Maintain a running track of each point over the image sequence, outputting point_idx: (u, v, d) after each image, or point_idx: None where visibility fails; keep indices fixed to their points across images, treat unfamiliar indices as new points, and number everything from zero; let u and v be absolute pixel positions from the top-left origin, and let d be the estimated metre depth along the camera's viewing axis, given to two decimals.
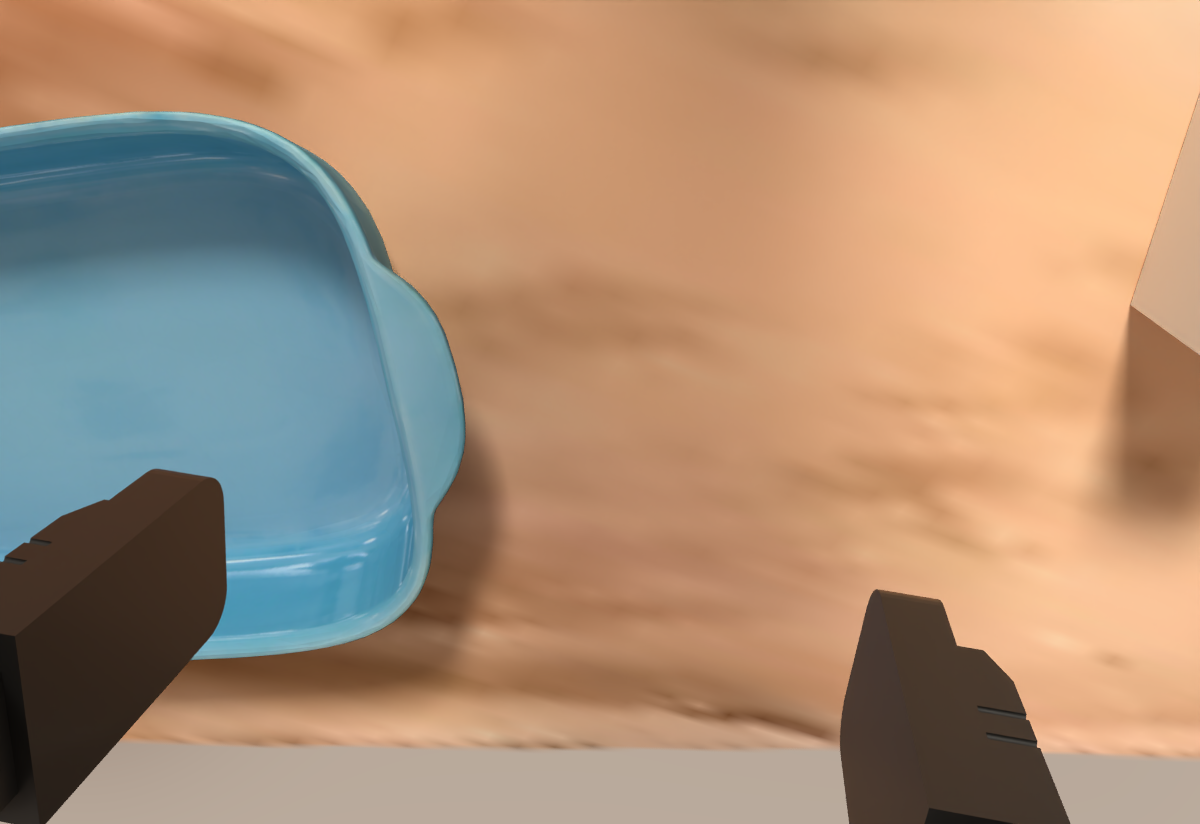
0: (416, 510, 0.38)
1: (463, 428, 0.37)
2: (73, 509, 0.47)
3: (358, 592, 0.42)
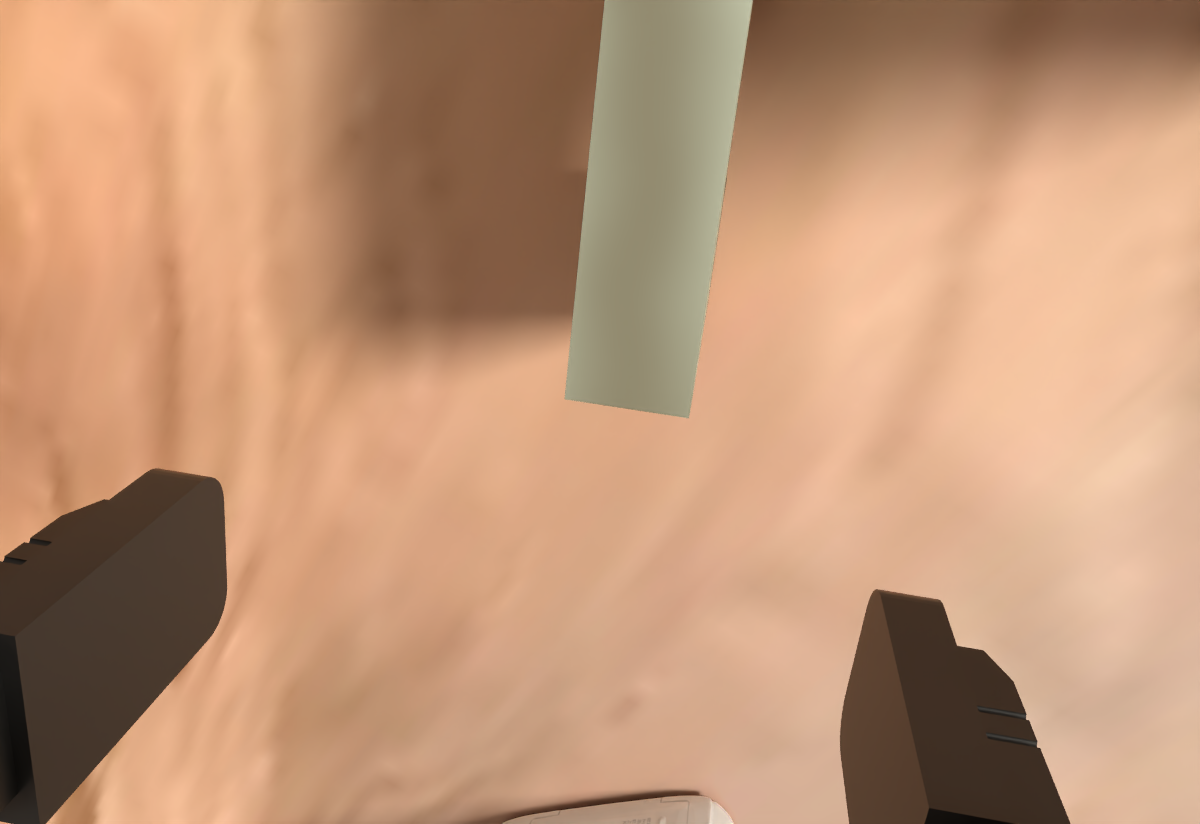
0: None
1: None
2: None
3: None
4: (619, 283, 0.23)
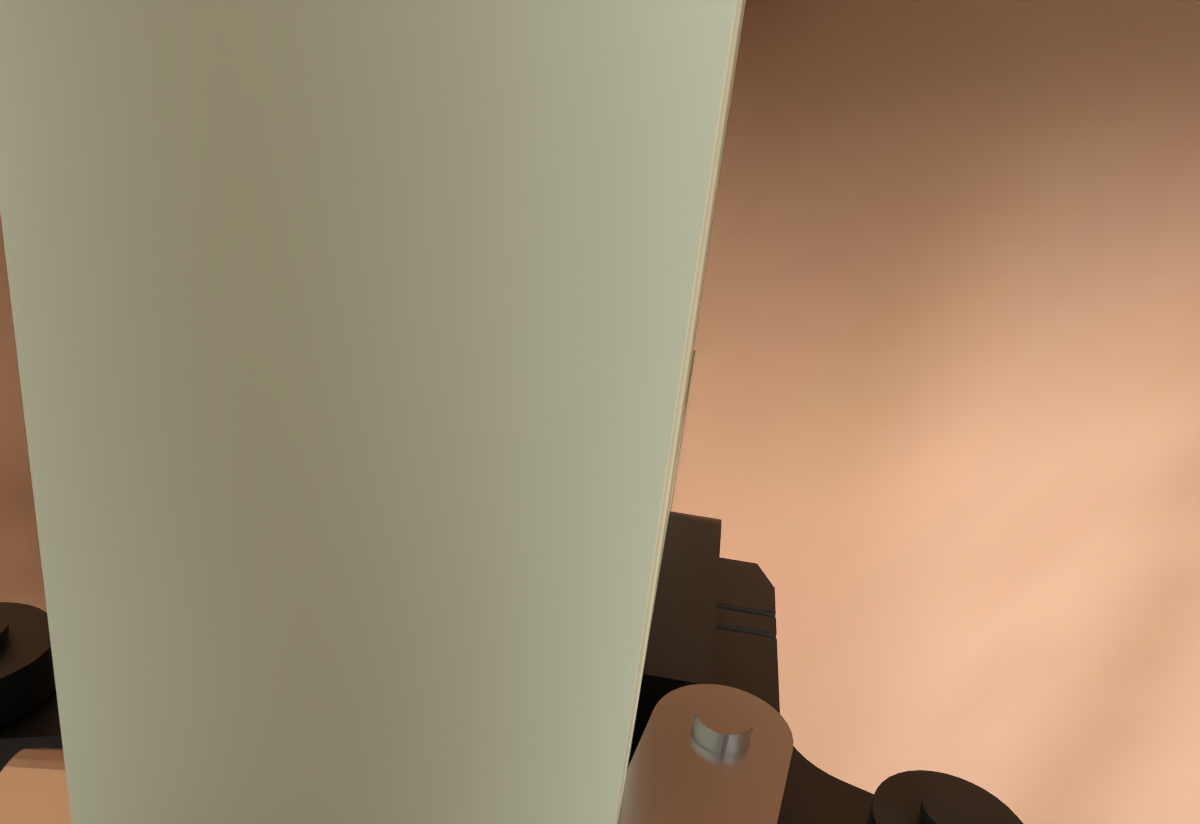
0: None
1: None
2: None
3: None
4: None
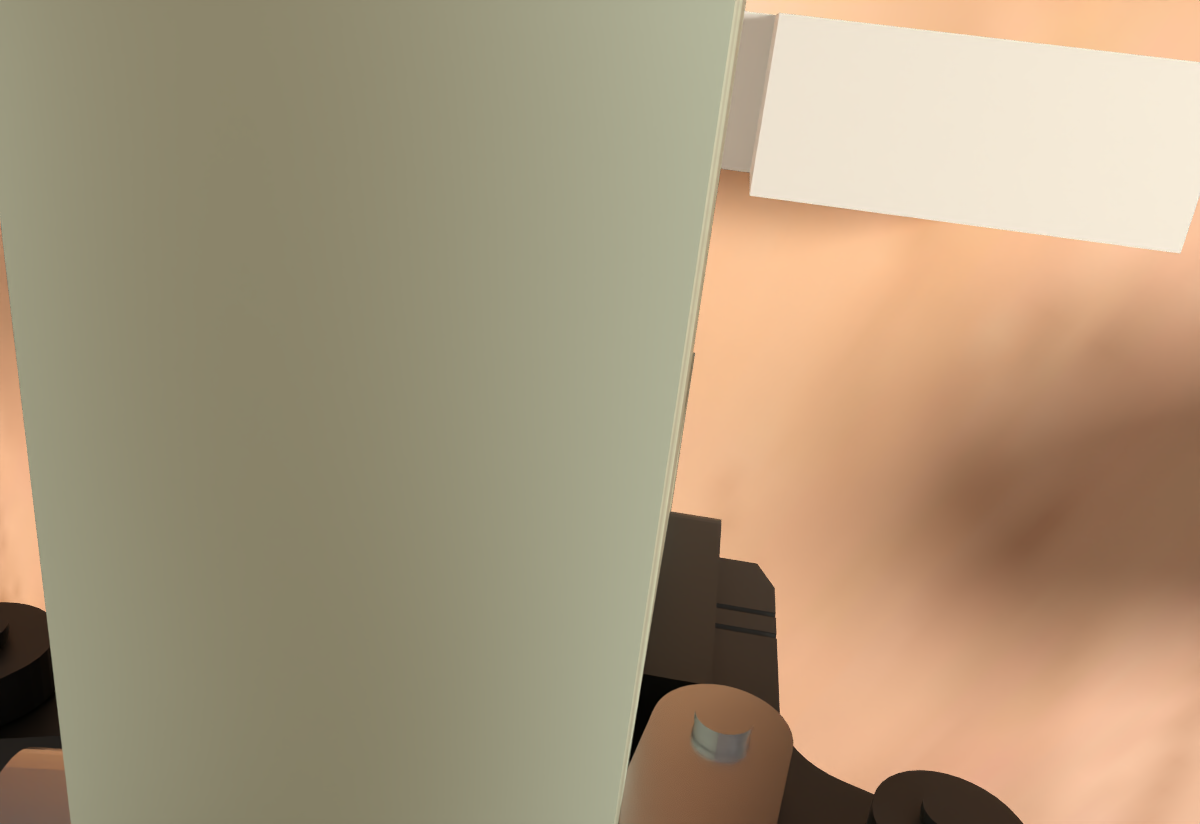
0: None
1: None
2: None
3: None
4: None
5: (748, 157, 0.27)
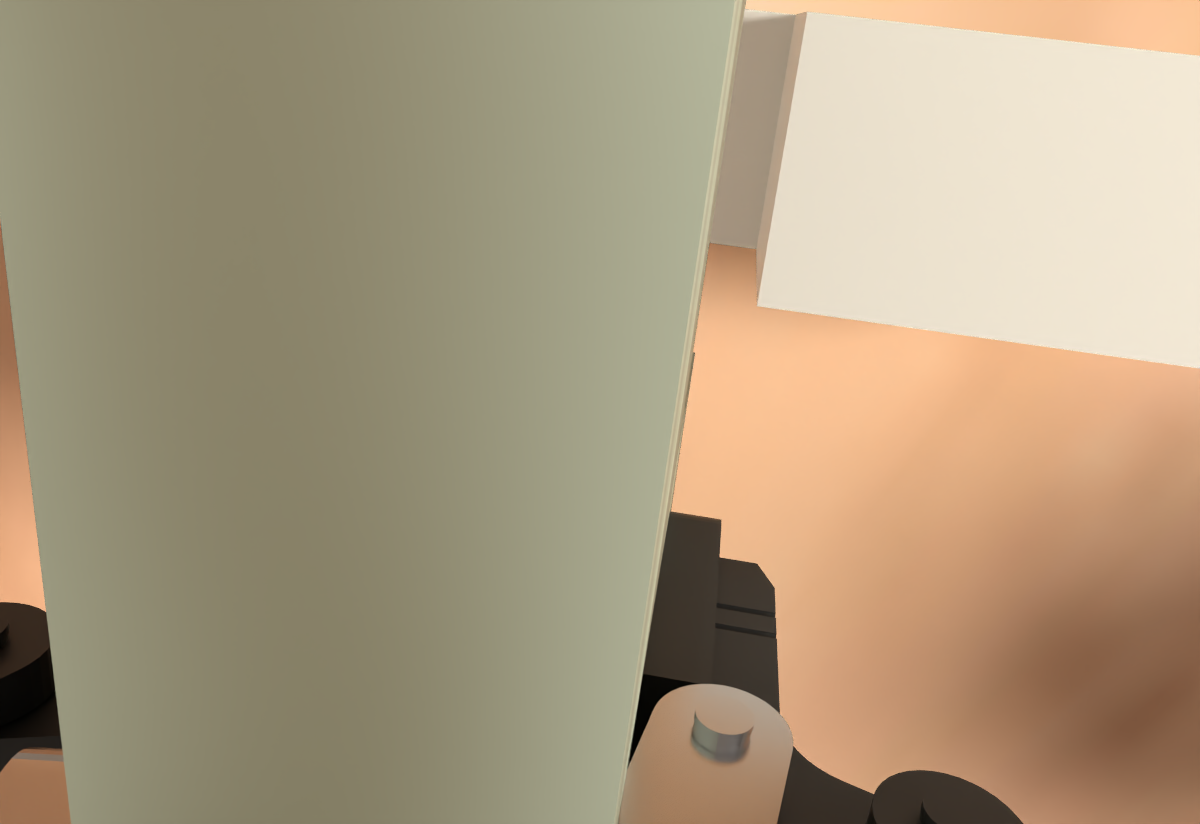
0: None
1: None
2: None
3: None
4: None
5: (755, 227, 0.18)
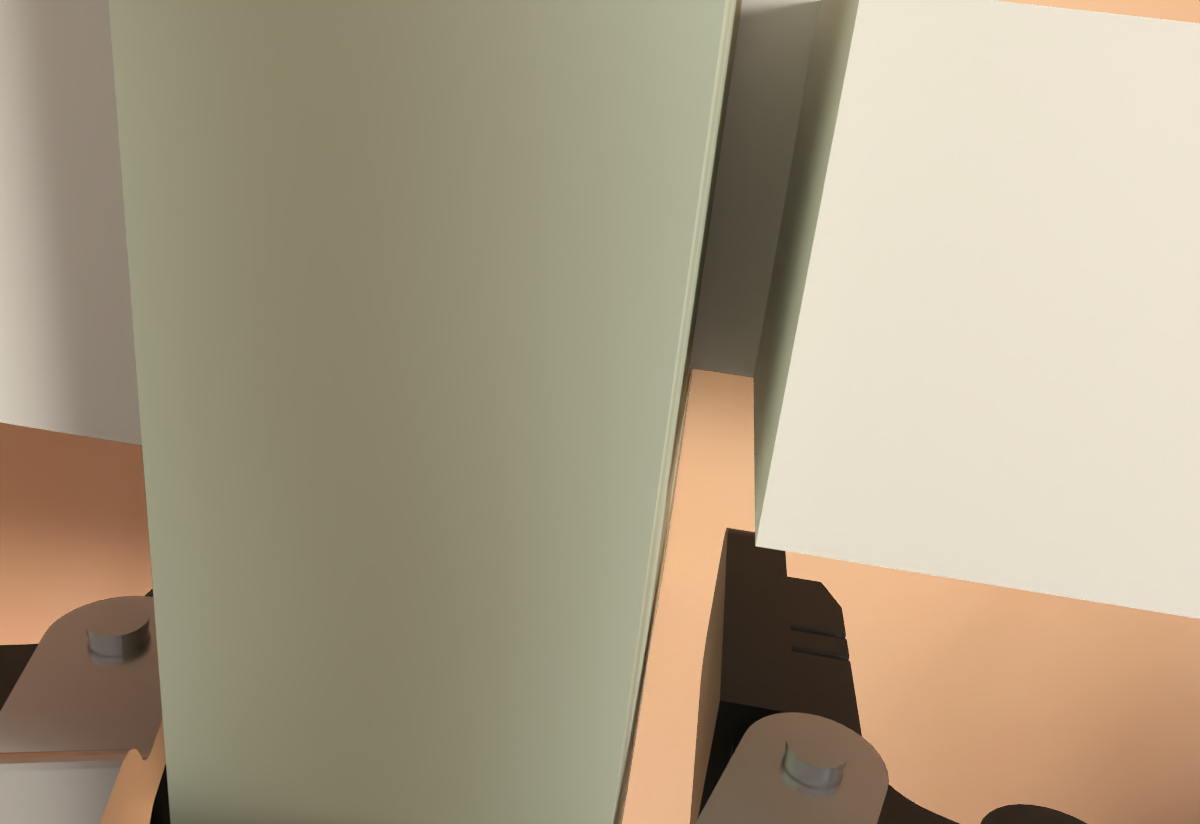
0: None
1: None
2: None
3: None
4: None
5: (752, 342, 0.11)
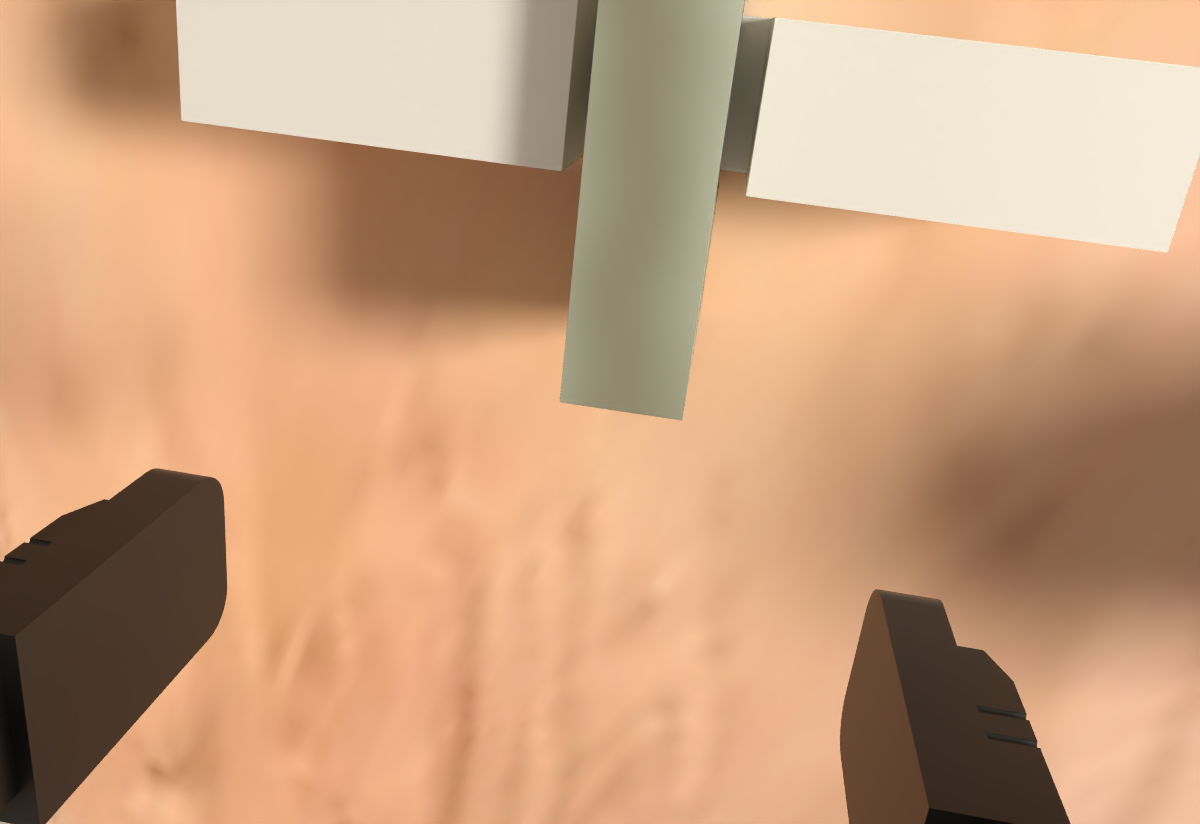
0: None
1: None
2: None
3: None
4: (613, 288, 0.23)
5: (745, 158, 0.27)
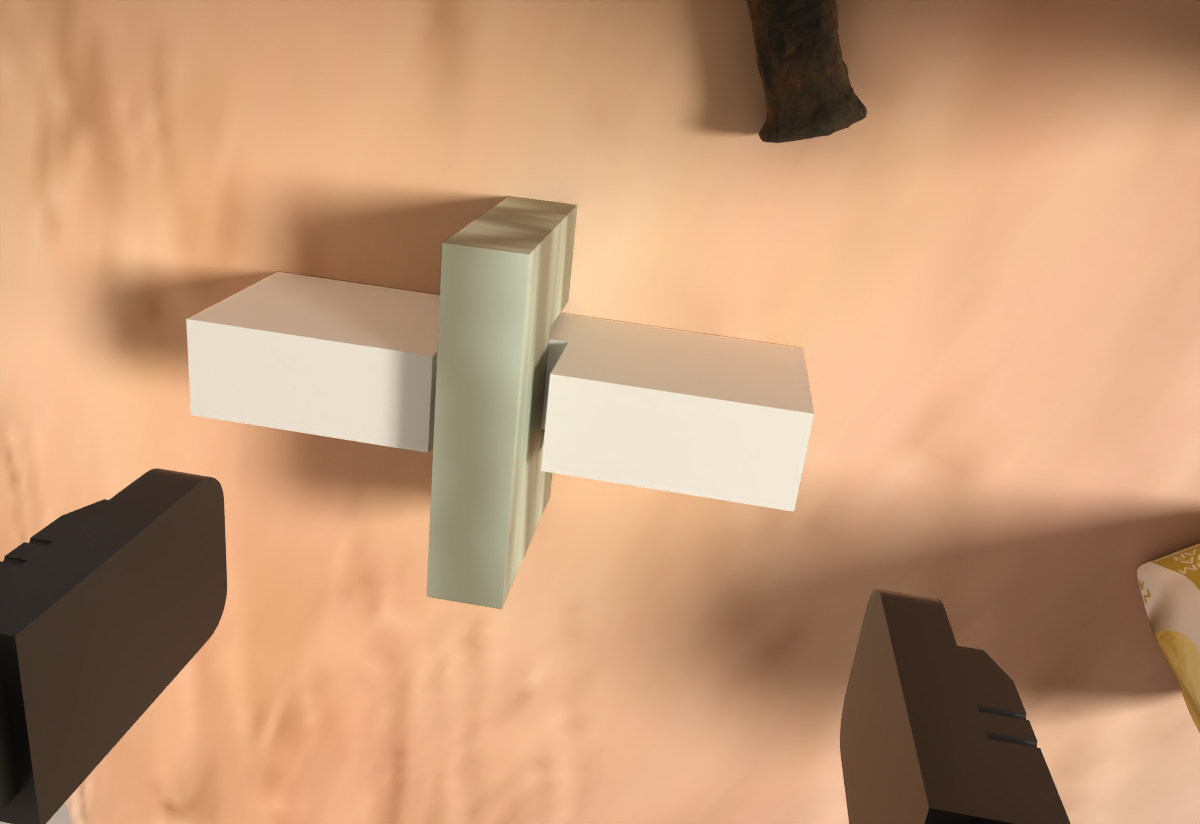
0: None
1: None
2: None
3: None
4: (455, 533, 0.38)
5: None
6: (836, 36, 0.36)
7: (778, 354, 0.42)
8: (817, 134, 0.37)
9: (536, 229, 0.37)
